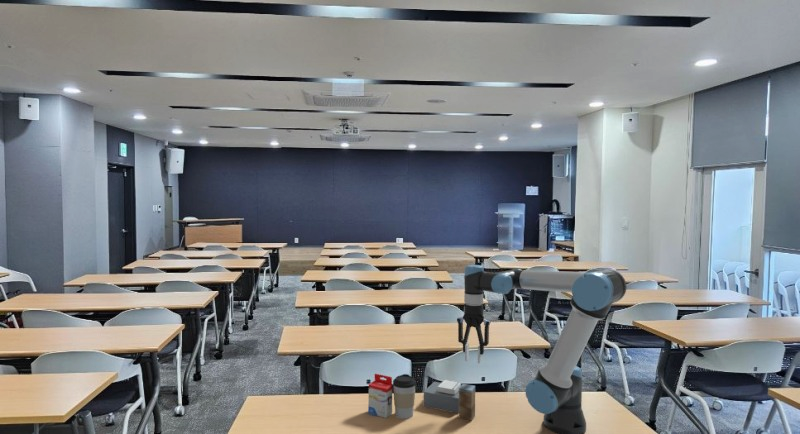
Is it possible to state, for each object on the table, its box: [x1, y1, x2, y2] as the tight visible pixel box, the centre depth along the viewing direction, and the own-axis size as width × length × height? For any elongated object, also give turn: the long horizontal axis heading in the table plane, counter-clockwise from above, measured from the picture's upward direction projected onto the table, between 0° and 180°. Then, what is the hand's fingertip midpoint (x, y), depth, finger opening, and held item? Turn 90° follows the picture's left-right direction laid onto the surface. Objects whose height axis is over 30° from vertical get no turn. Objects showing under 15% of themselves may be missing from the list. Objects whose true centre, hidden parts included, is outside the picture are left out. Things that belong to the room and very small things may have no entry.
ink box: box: [367, 373, 394, 419], centre depth 182 cm, size 8×5×15 cm, turn 62°
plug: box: [458, 383, 476, 422], centre depth 179 cm, size 5×5×12 cm
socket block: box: [423, 381, 459, 414], centre depth 191 cm, size 15×12×6 cm
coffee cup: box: [392, 373, 417, 420], centre depth 181 cm, size 9×9×15 cm
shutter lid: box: [438, 379, 462, 395], centre depth 190 cm, size 7×8×2 cm
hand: (473, 361), depth 186 cm, fingers open, 4 cm apart
